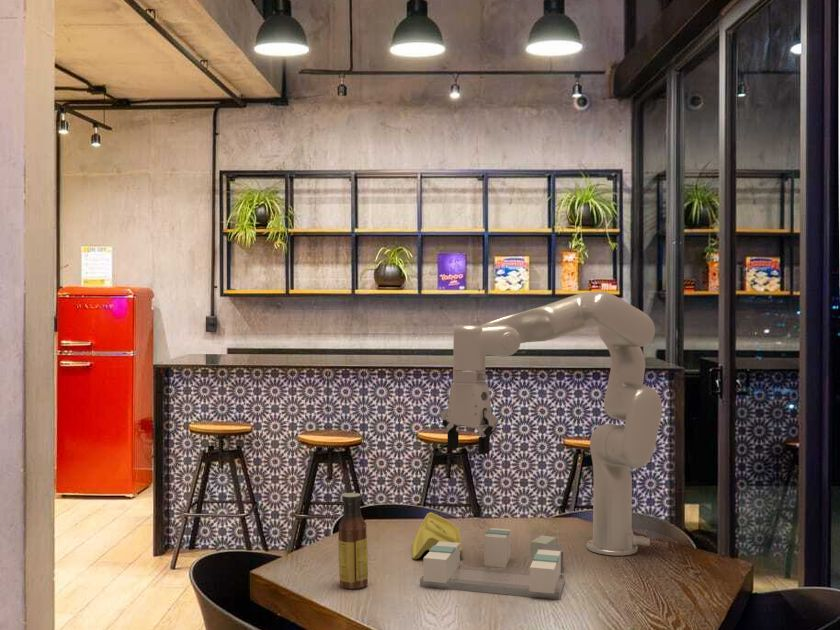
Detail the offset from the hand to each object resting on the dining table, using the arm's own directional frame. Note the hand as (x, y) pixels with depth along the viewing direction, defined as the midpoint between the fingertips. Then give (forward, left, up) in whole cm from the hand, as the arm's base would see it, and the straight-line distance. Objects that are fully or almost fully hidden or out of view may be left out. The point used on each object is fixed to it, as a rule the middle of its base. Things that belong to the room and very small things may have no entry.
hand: (468, 451), depth 195 cm
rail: (-8, +10, -27) cm, 30 cm away
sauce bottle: (+21, +20, -27) cm, 40 cm away
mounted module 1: (+3, +10, -26) cm, 28 cm away
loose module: (-6, -7, -27) cm, 29 cm away
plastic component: (+10, -12, -28) cm, 32 cm away
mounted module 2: (-20, +10, -26) cm, 34 cm away
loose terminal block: (-16, -16, -27) cm, 36 cm away
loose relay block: (-19, -5, -27) cm, 34 cm away
